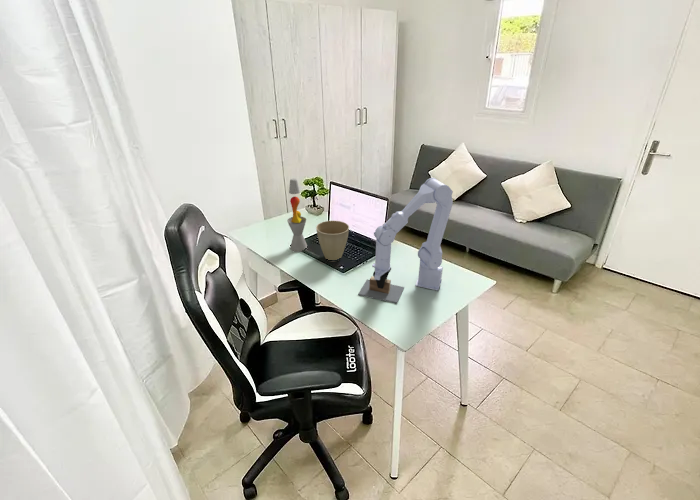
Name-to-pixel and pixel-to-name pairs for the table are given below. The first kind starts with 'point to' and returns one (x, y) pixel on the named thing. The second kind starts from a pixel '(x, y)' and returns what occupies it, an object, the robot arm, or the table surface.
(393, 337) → the table surface
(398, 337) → the table surface
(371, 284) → the wooden tile
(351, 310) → the table surface
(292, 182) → the lava lamp
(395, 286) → the rubber mat
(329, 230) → the plant pot
